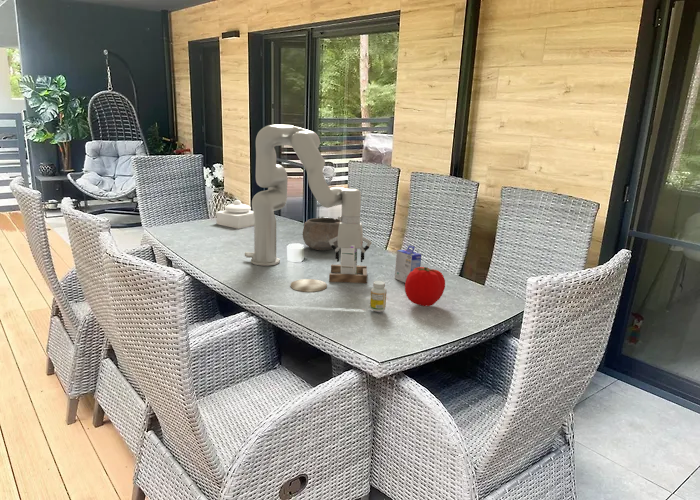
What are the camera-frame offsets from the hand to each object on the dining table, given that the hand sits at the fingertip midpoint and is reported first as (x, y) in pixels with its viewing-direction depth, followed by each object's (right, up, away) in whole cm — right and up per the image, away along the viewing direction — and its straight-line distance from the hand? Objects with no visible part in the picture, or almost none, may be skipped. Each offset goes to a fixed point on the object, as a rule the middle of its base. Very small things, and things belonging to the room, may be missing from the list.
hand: (349, 261), depth 217 cm
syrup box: (-1, -7, +2) cm, 7 cm away
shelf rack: (-1, -7, +2) cm, 7 cm away
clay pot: (-13, +4, +45) cm, 47 cm away
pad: (-16, -9, -12) cm, 22 cm away
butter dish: (-64, +18, +89) cm, 111 cm away
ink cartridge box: (+23, -8, 0) cm, 25 cm away
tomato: (+27, -15, -26) cm, 40 cm away
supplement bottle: (+10, -16, -33) cm, 38 cm away
